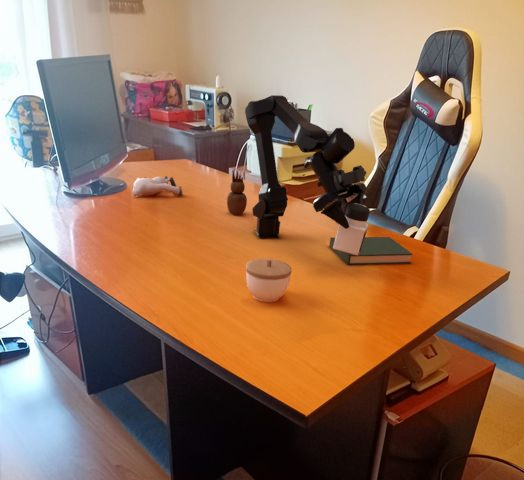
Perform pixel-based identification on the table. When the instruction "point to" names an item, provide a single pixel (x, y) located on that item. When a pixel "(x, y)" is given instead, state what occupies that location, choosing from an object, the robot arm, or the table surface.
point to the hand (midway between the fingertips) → (356, 224)
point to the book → (376, 252)
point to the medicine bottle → (353, 230)
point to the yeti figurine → (155, 186)
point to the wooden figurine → (236, 196)
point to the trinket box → (267, 278)
